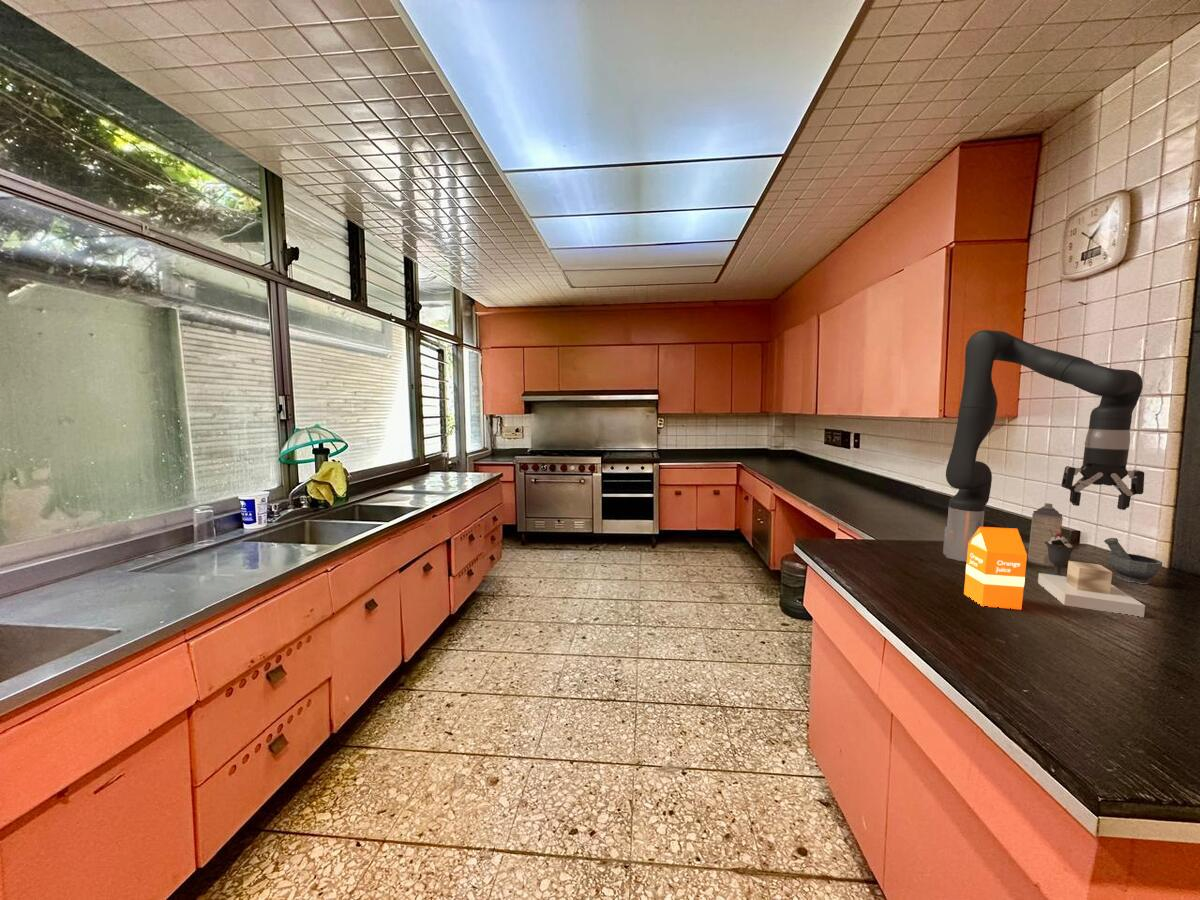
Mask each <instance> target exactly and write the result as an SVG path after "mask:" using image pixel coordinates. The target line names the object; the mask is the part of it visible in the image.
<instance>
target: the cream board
mask: <svg viewBox="0 0 1200 900" xmlns="http://www.w3.org/2000/svg"><path fill="white" fill-rule="evenodd" d="M1037 577H1038V578H1037V583H1038V584H1039V585H1040V587H1042V588H1043V587H1044V588H1043V589H1045V591H1047V592H1048V593H1049V594H1051V596H1053V597H1055V599H1056V598H1057V601H1059V602H1060V603H1061V604H1062V605H1064V606H1068V607H1074V608H1081V609H1088V610H1094V611H1100V612H1105V611H1106V613H1112V612H1113V613H1112V614H1118V613H1121V614H1120V615H1125V614H1128V615H1127V616H1131V615H1134V616H1133V617H1137V616H1139V617H1140V618H1145V609H1146V605H1145V604H1143V603H1141V602H1140V601H1138V600H1137V599H1135V598H1134V597H1132V596H1131V595H1129V594H1128V593H1125V592H1124V591H1123V590H1121V589H1120V588H1118V587H1117V586H1115V585H1113V584H1111V588H1110V594H1103V593H1096V592H1089V591H1082V590H1077V589H1075V588H1074V587H1073V586H1071V585H1070V584H1069V583H1067V582H1066V579H1067V576H1065V575H1063V576H1058V575H1050V574H1046V573H1042V572H1041V573H1040V572H1039V573H1038V576H1037ZM1139 617H1138V618H1139Z"/></svg>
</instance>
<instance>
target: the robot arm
mask: <svg viewBox="0 0 1200 900" xmlns="http://www.w3.org/2000/svg"><path fill="white" fill-rule="evenodd" d="M964 352H965V356H964V376H963V377H964V378H963V385H962V390H961V397H960V402H959V406H958V414H957V421H956V427H955V432H954V433H955V434H954V439H953V444H952V449H951V452H950V454H949V459H948V462H947V466H946V469H945V477H946V478H945V479H946V482H947V483H948V485H950V487H952V488H954V489H956V490H958V491H957V492H956V494H955V495H954V496H952V497H950V498H949V500H948V513H947V521H946V522H947V523H946V524H947V525H946V526H945V527H944V536H943V548H942V554H943V555H944V556H945V558H946V559H950V560H955V561H959V562H964V563H967V553H968V543H969V541H970V540H971V539H972V537H973V536H974V534H975V533H976V531H977V530H978V529H979V527H984V521H985V520H984V519H985V518H984V517H985V510H986V509H985V508H986V505H987V504H988V503H989V500H990V495H991V488H992V481H993V474H992V471H991V470H992V469H991V468H990V466H989V465H988V464H986V463H985V462H983V461H979V460H978V461H977V455H978V450H979V448H980V446H981V444H982V442H983V441H984V440H985V439H986V437H987V436H988V434H989V433H990V431H991V429H992V428H993V426H994V424H995V420H996V416H997V410H998V396H997V393H996V389H995V387H994V383H993V378H992V376H993V375H992V374H993V366H994V361H1000V362H1007V363H1013V364H1017V365H1020V366H1023V367H1026V368H1028V369H1030V370H1031V371H1033V372H1035V373H1037V374H1039V375H1042V376H1043V377H1047V378H1049V379H1053V380H1055V381H1057V382H1061V383H1065V384H1069V385H1071V386H1074V387H1076V388H1078V389H1080V390H1083V391H1084V392H1087V393H1089V394H1093V395H1095V396H1098V397H1101V399H1100V402H1099V405H1098V406H1097V407H1094V408H1092V410H1091V413H1090V416H1089V422H1088V423H1089V424H1088V429H1087V430H1088V431H1087V432H1086V436H1085V441H1084V451H1083V456H1082V457H1083V458H1082V465H1081V467H1073V466H1069V465H1067V466H1065V467H1064V471H1063V475H1062V480H1061V487H1062V488H1064V489H1066V490H1069V491H1070V494H1069V502H1070V503H1071V504H1072V505H1073V506H1075V507H1076V506H1077V507H1079V506H1080V505H1081V504H1080V503H1081V497H1082V496H1081V495H1082V492H1081V491H1083V490H1084V489H1085V488H1088V487H1090V486H1091V485H1095V486H1101V485H1102V486H1110V487H1112V486H1113V487H1115V488H1116V489H1117V491H1119V493H1120V494H1118V499H1117V505H1116V506H1117V507H1116V508H1117V509H1118V510H1122V511H1126V509H1128V508H1130V505H1131V497H1132V496H1134V495H1142V494H1144V491H1145V490H1144V487H1145V486H1144V485H1145V472H1144V471H1142V470H1139V469H1133V470H1127V464H1128V458H1129V451H1130V444H1131V426H1132V418H1133V413H1134V409H1135V408H1136V407H1137V403H1138V401H1139V399H1140V396H1141V394H1142V390H1143V384H1144V383H1143V379H1142V376H1141V375H1140V374H1139V373H1138V372H1136V371H1134V370H1130V369H1119V368H1117V369H1116V368H1111V367H1108V366H1107V367H1106V366H1104V365H1099V364H1096V363H1094V362H1093V361H1091V360H1089V359H1086V358H1083V357H1078V356H1075V355H1071V354H1069V353H1066V352H1065V353H1064V352H1060V351H1056V350H1052V349H1049V348H1045V347H1041V346H1038V345H1035V344H1032V343H1029V342H1027V341H1024V340H1022V339H1021V338H1018V337H1016V336H1014V335H1012V334H1010V333H1008V332H1006V331H1003V330H991V329H990V330H989V329H983V330H979V331H976V332H974V333H973V334H971V336H970V337H969V338H968V340H967V342H966V346H965V351H964ZM1078 473H1080V475H1082V477H1081V478H1079V479H1078V480H1076V482H1075V483H1074V484H1073V482H1074V478H1075V476H1077V475H1078ZM1127 476H1128V477H1129V479H1131V481H1130V489H1129V487H1128V485H1127V484H1126V483H1125V482H1124V481H1123V479H1125V477H1127Z"/></svg>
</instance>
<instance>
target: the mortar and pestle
mask: <svg viewBox="0 0 1200 900" xmlns="http://www.w3.org/2000/svg"><path fill="white" fill-rule="evenodd" d="M1103 542H1104V544H1106V545H1107V546H1108V548H1109V549H1110V552H1111V553H1109V557H1108V559H1109V560H1108V561H1109V565H1110V566H1111V567H1112V569H1113V570H1114V571H1115V572H1116V573H1117V574H1116V576H1118V577H1120V578H1122V579H1126V580H1129V581H1135V582H1140V583H1148V582H1149V583H1150V579H1151V578H1154V577H1155V576H1156V575H1158V574H1159V573H1160V571H1161V569H1162V568H1163V561H1161V560H1158V559H1156V558H1154V557H1153V558H1152V557H1148V556H1145V555H1140V554H1135V553H1127V551H1126V550H1125V549H1124V548H1123V546H1122V545H1121V544H1120V542H1119V539H1118V538H1116V537H1109V538H1106V539H1104V541H1103Z"/></svg>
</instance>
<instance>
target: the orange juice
mask: <svg viewBox="0 0 1200 900" xmlns="http://www.w3.org/2000/svg"><path fill="white" fill-rule="evenodd" d="M1018 529H1019V528H1012V527H1011V528H1009V527H993V526H991V527H990V526H983V527H979V529H978V530H977V531H976V533H975V534H974V536H973V537H972V539H971V540H970V541H969V543H968V553H967V562H966V565H965V576H964V578H965V579H964V588H963V595H965V596H966V597H967V598H969V597H970V598H971V599H970V598H969V599H970V600H972V601H973V600H974V601H973V602H975V603H976V602H977V604H978V605H979V604H980V605H979V606H981V607H984V606H988V607H987V608H997V607H999V608H1000V609H1010V608H1011V610H1012V609H1013V610H1022V605H1023V598H1024V589H1025V588H1024V587H1025V581H1026V580H1025V579H1026V569H1027V561H1028V553H1027V551H1026V549H1025V545H1024V542H1023V541H1022V537H1021V535H1020V532H1019V530H1018Z"/></svg>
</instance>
